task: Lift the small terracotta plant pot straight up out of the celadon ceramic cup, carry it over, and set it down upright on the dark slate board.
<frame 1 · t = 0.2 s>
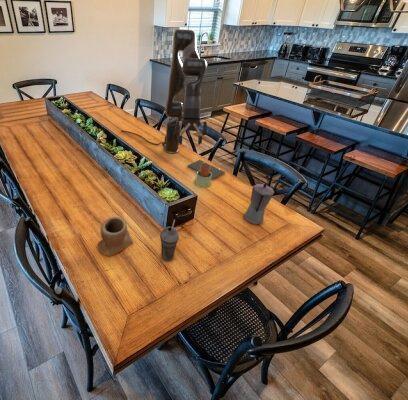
hand: (190, 144, 125), 31 cm above the table, tool tilted 20°, fingers open, 8 cm apart
stone cup: (117, 246, 113), on the table
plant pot: (202, 182, 155), point 1 cm above the table, touching cup
moka pot: (253, 219, 132), on the table
cup: (202, 183, 156), on the table
beverage cup: (167, 257, 110), on the table
slate board: (205, 170, 168), on the table
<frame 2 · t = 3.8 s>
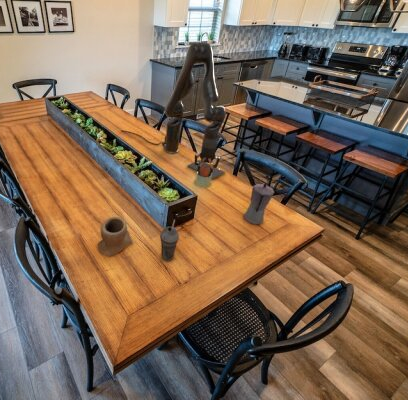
hand: (204, 172, 151), 7 cm above the table, tool pointing down, fingers closed on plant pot, 6 cm apart
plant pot: (202, 182, 155), point 1 cm above the table, touching cup, gripper
everything else where it was.
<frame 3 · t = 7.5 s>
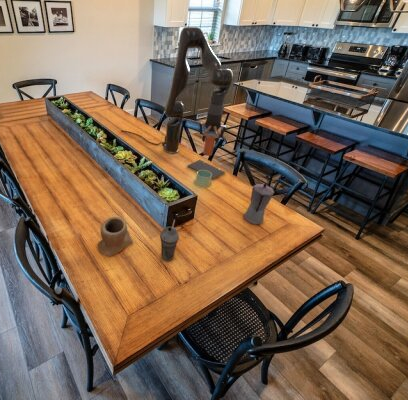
hand: (209, 142, 146), 23 cm above the table, tool pointing down, fingers closed on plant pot, 6 cm apart
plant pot: (207, 153, 150), point 16 cm above the table, touching gripper
everything else where it was.
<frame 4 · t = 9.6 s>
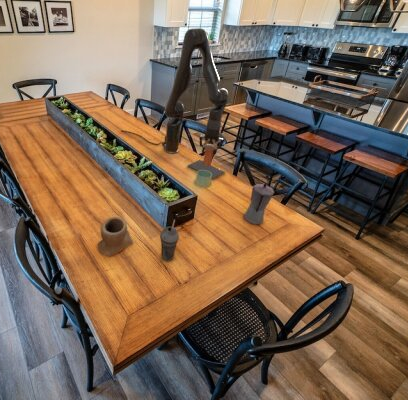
hand: (208, 153, 161), 12 cm above the table, tool pointing down, fingers closed on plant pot, 6 cm apart
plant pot: (207, 163, 165), point 5 cm above the table, touching gripper
everything else where it was.
when the fingers open (8 cm above the table, at t = 11.2 s): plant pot stays where it is, resting on slate board.
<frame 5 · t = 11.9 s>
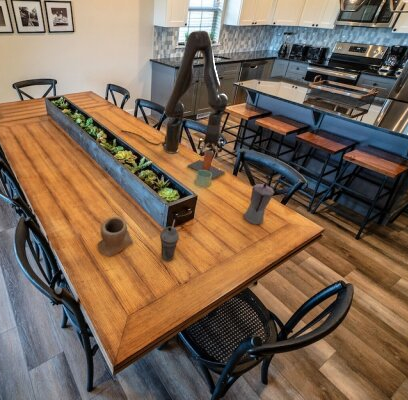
hand: (208, 156, 162), 10 cm above the table, tool pointing down, fingers open, 8 cm apart
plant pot: (206, 168, 167), point 1 cm above the table, touching slate board
everything else where it was.
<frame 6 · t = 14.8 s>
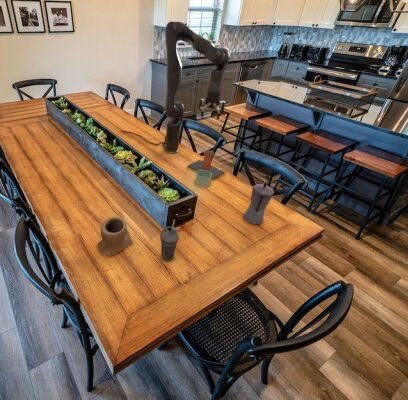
hand: (209, 118, 156), 30 cm above the table, tool pointing down, fingers open, 8 cm apart
nothing on the table moved.
at the end: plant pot inside the target area on the slate board (0.0 cm from its centre), point 1.5 cm above the slate board's base; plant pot tilted 0°; the gripper is holding nothing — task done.
